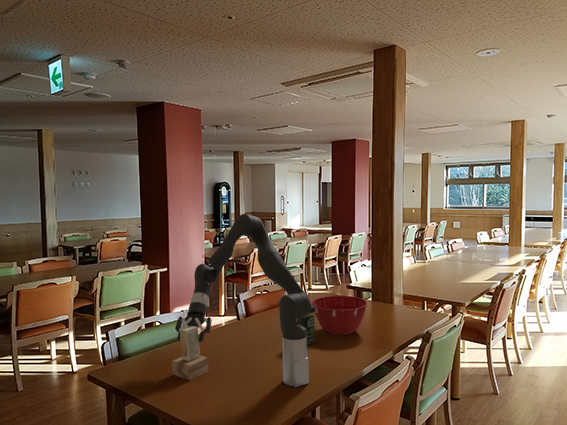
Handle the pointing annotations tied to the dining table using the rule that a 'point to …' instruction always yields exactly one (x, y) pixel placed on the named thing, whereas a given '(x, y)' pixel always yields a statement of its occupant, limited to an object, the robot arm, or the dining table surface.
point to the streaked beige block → (190, 367)
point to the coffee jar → (309, 325)
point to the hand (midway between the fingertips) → (189, 341)
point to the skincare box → (189, 343)
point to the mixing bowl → (339, 313)
